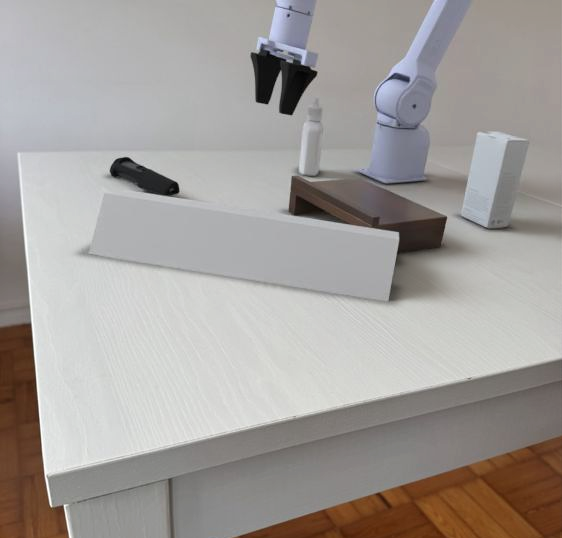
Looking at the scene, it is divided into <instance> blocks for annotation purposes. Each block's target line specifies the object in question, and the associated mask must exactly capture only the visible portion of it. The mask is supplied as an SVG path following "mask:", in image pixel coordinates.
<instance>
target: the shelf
mask: <svg viewBox="0 0 562 538" xmlns="http://www.w3.org/2000/svg"><path fill="white" fill-rule="evenodd" d="M290 179H291V180H290V188H289V189H290V190H289V191H290V192H289V200H288V210H287V211H288V212H289V213H290V214H292V216H298V215H306V214H317V213H328V214H330V215H332V216H334V217H336V218H337V219H339V220H341V221H343V222H345V223H346V224H348V225H355V226H361V227H368V228H374V229H381V230H387V231H393V232H399V244H398V250H397V254H402V253H410V252H417V251H422V250H429V249H430V250H431V249H435V248H441V246H442V243H443V239H444V234H445V229H446V225H447V221H448V216H447V215H445V214H442V213H440V212H438V211H436V210H433V209H431V208H430V207H427V206H425V205H422V204H420V203H418V202H415V201H413V200H412V199H409V198H407V197H405V196H403V195H402V196H401V195H400V194H398V193H396V192H393V191H391V190H389V189H386V188H384V187H382V186H379V185H377V184H375V183H372V182H370V181H368V180H366V179H364V178H362V177H357V178H343V179H331V180H330V179H329V180H318V181H316V180H315V181H310V180H308V179H306V178H304V177H302V176H300V175H291V178H290Z"/></svg>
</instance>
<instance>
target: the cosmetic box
mask: <svg viewBox="0 0 562 538" xmlns="http://www.w3.org/2000/svg"><path fill="white" fill-rule="evenodd" d="M529 145H530V140H529V139H527V138H522V137H519V136H515V135H512V134H509V133H504V132H502V131H496V130H495V131H478V132H477V134H476V139H475V143H474V148H473V153H472V158H471V163H470V166H469V167H470V168H469V172H468V173H469V174H468V176H467V177H468V179H467V182H466V188H465V192H464V196H463V200H462V201H463V202H462V206H461V211H460V216H461V217H462V218H465V219H467V220H469V221H471V222H473V223H475V224H477V225H479V226H482V227H484V228H486V229H503V228H507V227H508V226H509V225H510V221H511V216H512V213H513V209H514V205H515V204H514V203H515V200H516V198H517V197H516V196H517V192H518V189H519V185H520V181H521V176H522V173H523V169H524V165H525V161H526V156H527V153H528V149H529V147H530V146H529Z"/></svg>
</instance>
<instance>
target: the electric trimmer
mask: <svg viewBox="0 0 562 538" xmlns="http://www.w3.org/2000/svg"><path fill="white" fill-rule="evenodd" d="M109 173H110V176H111V177H113V178H115V177H116V178H117V177H121V178H123V179H126V180H127V181H130V182H132V183H134V184H136V185H137V187H138V188H139V189H142V190H144V191H147V192H151V193H153V194H157V195H162V196H173V195H178V194H179V193H180V191H181V190H180V186H179V185H180V184H179V183H178V181H176V180H173V179H172V178H169V177H167V176H165V175H163V174H161V173H158V172H156V171H155V170H153V169H150V168H147V167H146V166H144V165H141V164H140V163H137V162H135V161H134V160H133V159H132V158H131V157H128V156H123V157H117V158H116V159H115V160H113V163H112V164H111V166H110V168H109Z"/></svg>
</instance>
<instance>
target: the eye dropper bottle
mask: <svg viewBox="0 0 562 538" xmlns="http://www.w3.org/2000/svg"><path fill="white" fill-rule="evenodd" d="M312 100H313V101H312V104H311V105H308V106H307V113H306V120H305V122H304V124H303V126H302V133H301V142H300V143H301V144H300V154H299V163H298V172H299V173H300V175H302V176H310V177H315V176H317V175H318V174H319V173H320V172H319V171H320V164H321V163H320V162H321V156H322V155H321V153H322V146H323V136H324V125H323V123H322V117H323V107H322V106H321V105H320V101H319V100H320V99H319V97H314V98H313V99H312Z"/></svg>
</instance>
